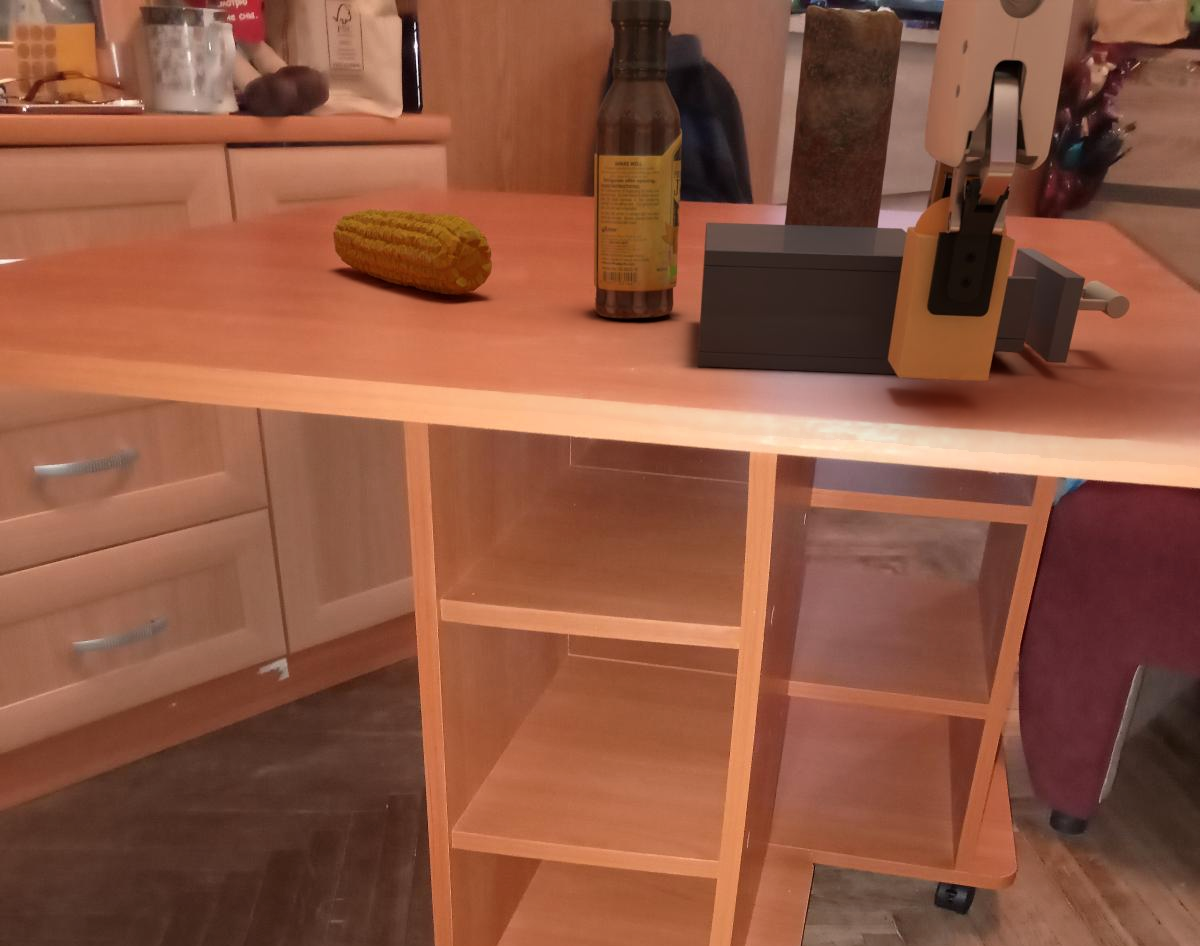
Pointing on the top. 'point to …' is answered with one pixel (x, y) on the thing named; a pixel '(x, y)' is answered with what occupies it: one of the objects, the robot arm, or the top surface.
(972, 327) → the orange container
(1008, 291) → the drawer
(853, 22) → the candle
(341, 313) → the top surface
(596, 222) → the sauce bottle
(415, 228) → the food
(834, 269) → the cabinet
